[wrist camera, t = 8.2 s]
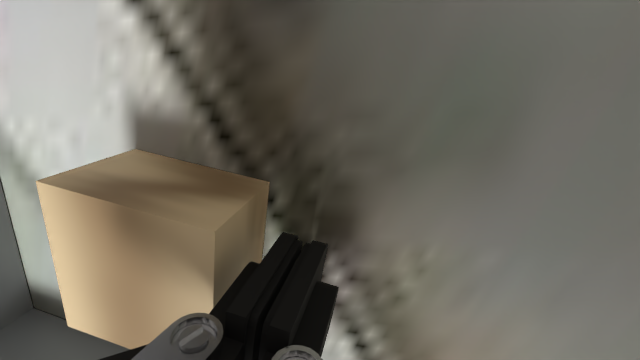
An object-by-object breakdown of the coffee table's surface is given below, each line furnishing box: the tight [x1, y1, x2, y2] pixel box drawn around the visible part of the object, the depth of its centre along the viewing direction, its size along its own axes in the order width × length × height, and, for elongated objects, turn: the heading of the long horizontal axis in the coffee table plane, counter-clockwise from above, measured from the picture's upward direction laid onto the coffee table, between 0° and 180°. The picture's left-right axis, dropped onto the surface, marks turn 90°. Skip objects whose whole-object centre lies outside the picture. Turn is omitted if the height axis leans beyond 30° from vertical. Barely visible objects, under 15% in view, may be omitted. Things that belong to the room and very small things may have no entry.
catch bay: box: [0, 182, 131, 360], centre depth 12 cm, size 16×20×4 cm
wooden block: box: [36, 149, 270, 349], centre depth 12 cm, size 6×6×4 cm
